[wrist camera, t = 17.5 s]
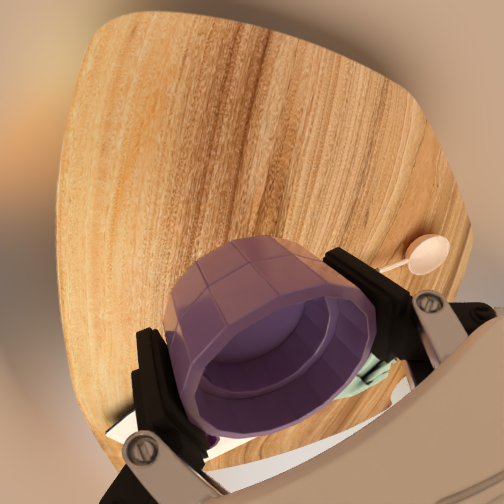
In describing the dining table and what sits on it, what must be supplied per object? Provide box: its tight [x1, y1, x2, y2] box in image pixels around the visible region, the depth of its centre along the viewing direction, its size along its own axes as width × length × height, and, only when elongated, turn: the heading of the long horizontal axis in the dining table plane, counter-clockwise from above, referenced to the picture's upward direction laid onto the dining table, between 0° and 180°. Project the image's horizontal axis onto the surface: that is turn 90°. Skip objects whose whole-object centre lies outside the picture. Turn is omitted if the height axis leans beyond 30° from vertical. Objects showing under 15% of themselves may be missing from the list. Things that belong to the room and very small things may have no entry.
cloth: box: [334, 352, 397, 400], centre depth 43 cm, size 20×22×2 cm
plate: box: [106, 408, 256, 462], centre depth 32 cm, size 20×20×3 cm
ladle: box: [375, 234, 449, 275], centre depth 33 cm, size 6×28×5 cm, turn 94°
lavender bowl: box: [163, 235, 377, 439], centre depth 9 cm, size 7×7×4 cm
